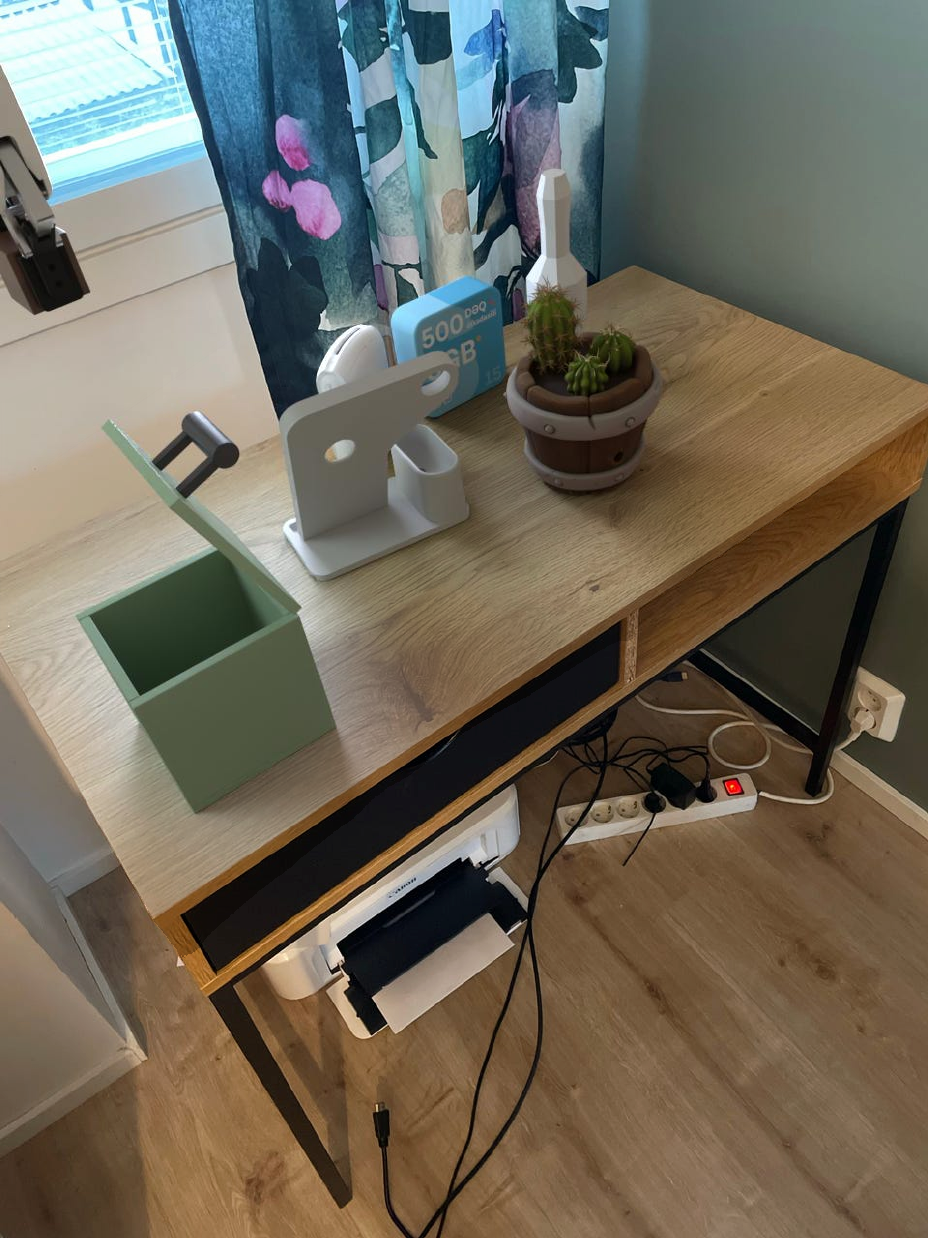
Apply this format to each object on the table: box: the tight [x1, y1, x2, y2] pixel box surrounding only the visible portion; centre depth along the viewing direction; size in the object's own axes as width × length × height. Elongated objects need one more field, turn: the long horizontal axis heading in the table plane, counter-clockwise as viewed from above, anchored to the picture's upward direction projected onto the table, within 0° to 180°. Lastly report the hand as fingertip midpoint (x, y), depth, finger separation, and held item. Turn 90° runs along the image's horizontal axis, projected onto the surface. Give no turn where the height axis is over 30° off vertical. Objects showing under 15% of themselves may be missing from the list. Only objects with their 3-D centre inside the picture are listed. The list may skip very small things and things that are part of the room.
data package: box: [390, 275, 507, 418], centre depth 100 cm, size 12×4×12 cm, turn 129°
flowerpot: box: [503, 275, 666, 496], centre depth 85 cm, size 14×15×20 cm
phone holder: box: [278, 351, 470, 582], centre depth 83 cm, size 17×10×18 cm, turn 119°
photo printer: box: [315, 323, 390, 460], centre depth 96 cm, size 10×4×12 cm, turn 160°
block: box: [0, 225, 91, 316], centre depth 65 cm, size 4×4×4 cm
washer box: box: [75, 545, 337, 815], centre depth 69 cm, size 13×12×13 cm
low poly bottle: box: [525, 168, 588, 337], centre depth 99 cm, size 6×6×22 cm
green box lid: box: [100, 411, 302, 615], centre depth 61 cm, size 13×12×5 cm
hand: (48, 291), depth 67 cm, fingers closed on block, 4 cm apart
